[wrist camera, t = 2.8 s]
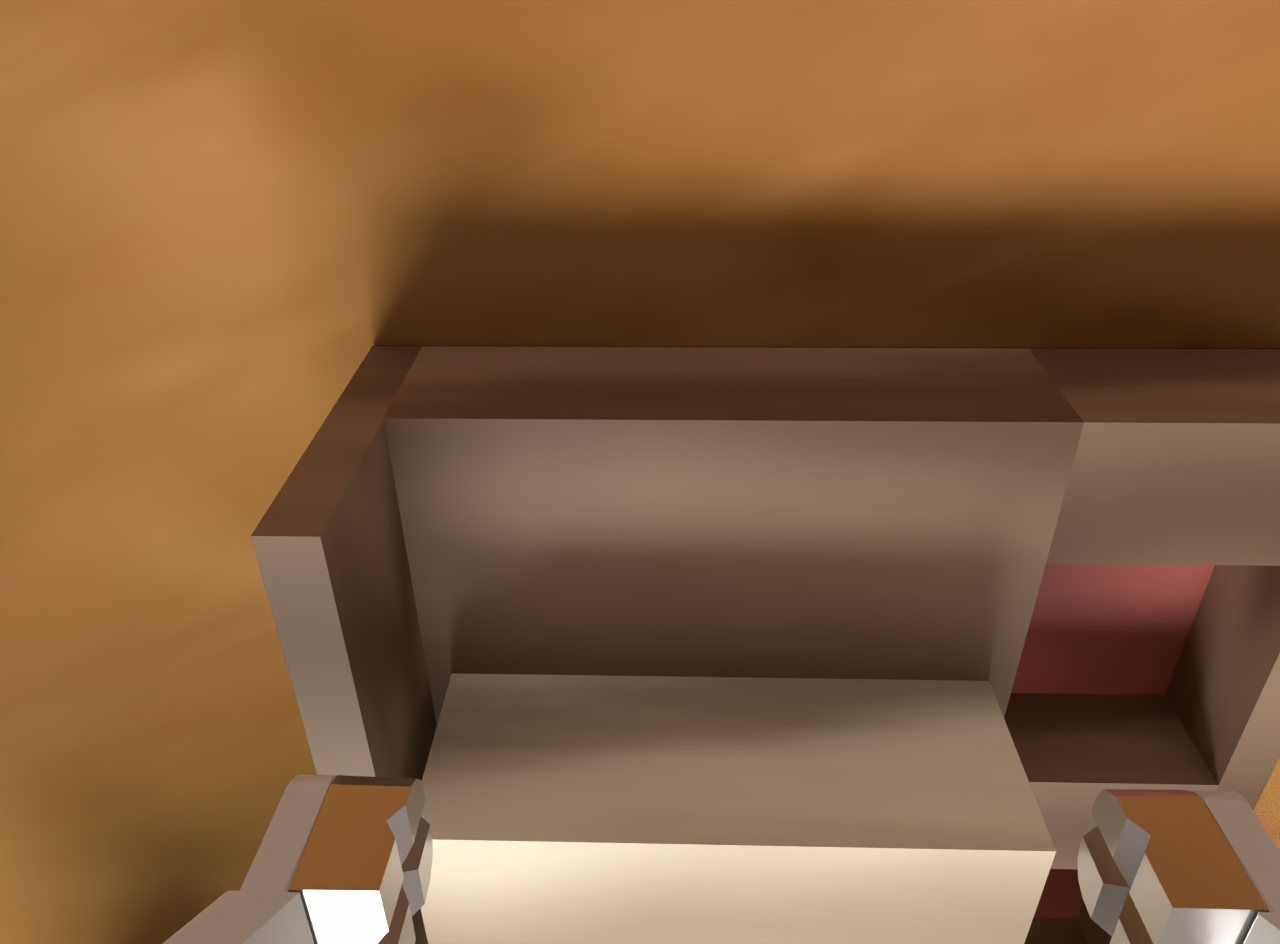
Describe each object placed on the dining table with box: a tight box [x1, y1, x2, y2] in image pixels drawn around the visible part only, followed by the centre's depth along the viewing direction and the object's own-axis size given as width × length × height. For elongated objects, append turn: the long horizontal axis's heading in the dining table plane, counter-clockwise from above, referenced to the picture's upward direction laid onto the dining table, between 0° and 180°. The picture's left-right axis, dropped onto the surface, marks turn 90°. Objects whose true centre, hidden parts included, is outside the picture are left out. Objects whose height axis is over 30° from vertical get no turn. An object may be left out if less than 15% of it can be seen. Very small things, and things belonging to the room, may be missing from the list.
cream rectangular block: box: [421, 673, 1056, 944], centre depth 19 cm, size 5×11×4 cm, turn 91°
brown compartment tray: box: [251, 346, 1280, 944], centre depth 21 cm, size 20×19×6 cm
